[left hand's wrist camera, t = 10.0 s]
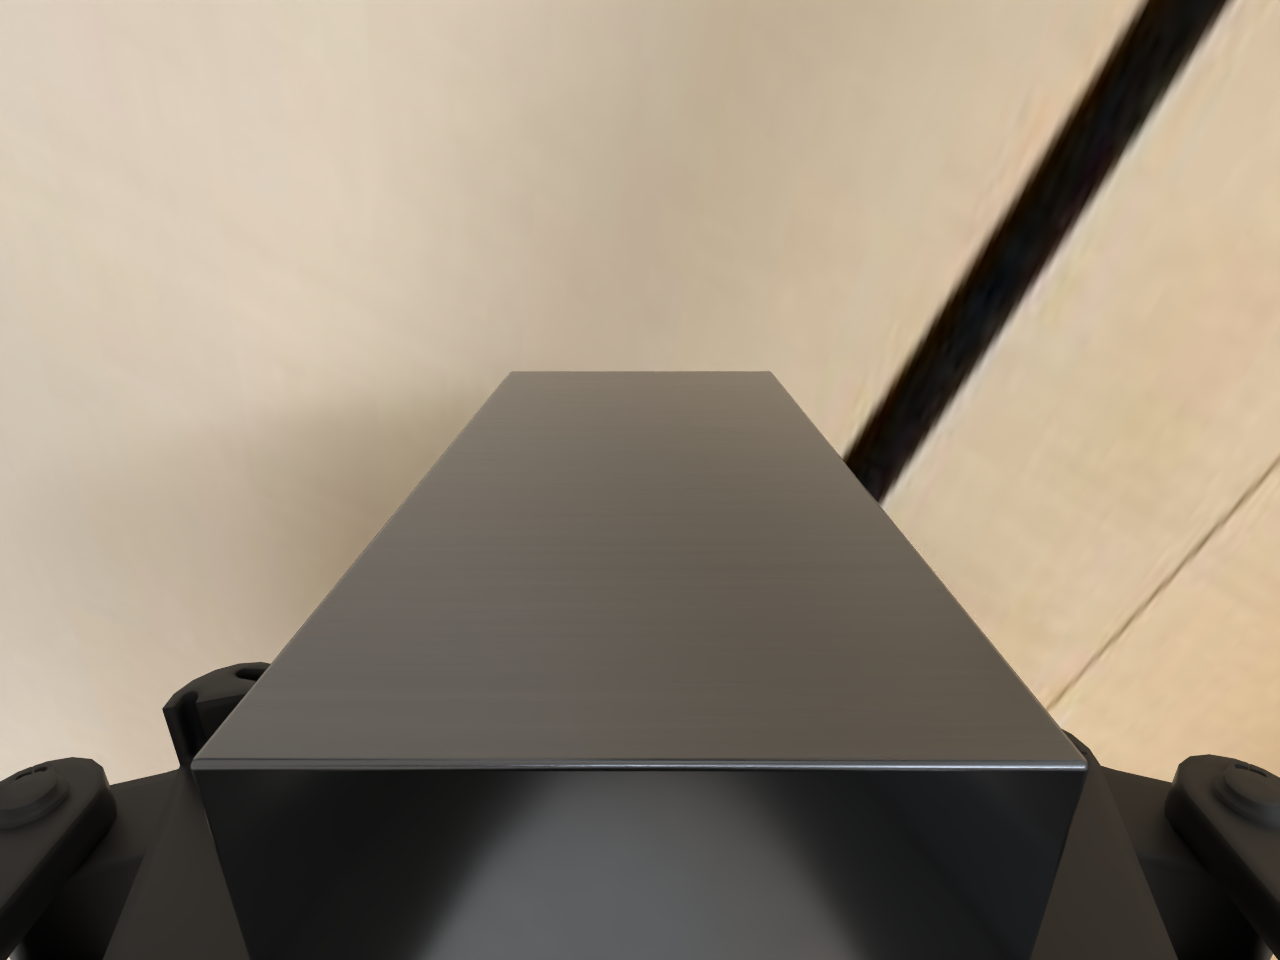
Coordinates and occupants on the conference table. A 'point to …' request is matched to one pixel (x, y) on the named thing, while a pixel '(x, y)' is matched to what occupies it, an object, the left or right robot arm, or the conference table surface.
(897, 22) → the conference table surface
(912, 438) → the conference table surface
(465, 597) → the box
